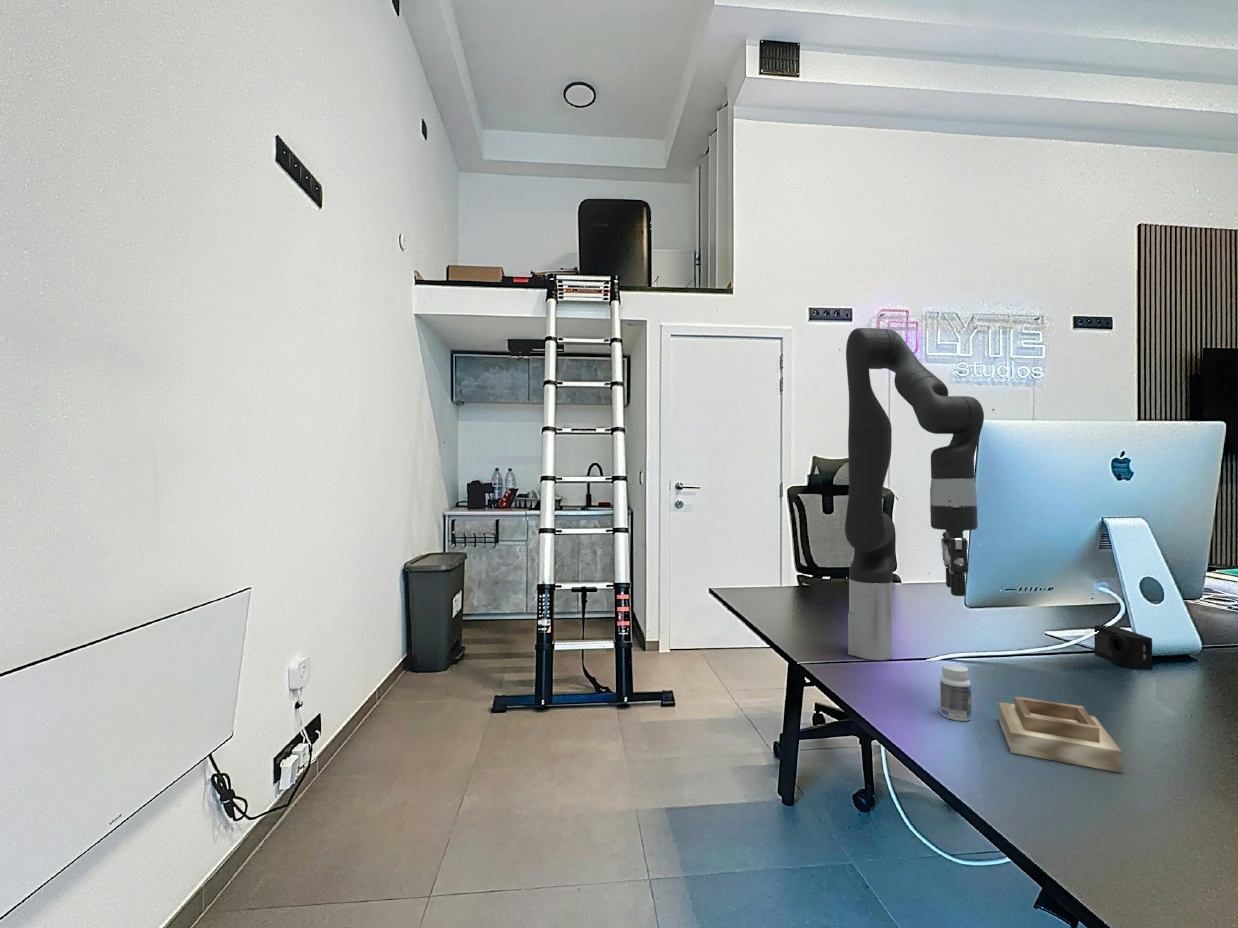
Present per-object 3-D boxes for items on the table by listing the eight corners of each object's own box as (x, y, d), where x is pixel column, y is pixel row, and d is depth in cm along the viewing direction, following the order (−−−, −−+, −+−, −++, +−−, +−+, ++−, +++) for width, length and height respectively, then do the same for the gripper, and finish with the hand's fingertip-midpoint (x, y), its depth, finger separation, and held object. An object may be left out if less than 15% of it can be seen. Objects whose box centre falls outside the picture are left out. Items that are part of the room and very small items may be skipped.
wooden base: (1011, 752, 87) (1011, 719, 87) (998, 719, 99) (998, 690, 99) (1121, 772, 81) (1121, 736, 81) (1094, 735, 93) (1094, 703, 93)
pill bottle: (976, 722, 97) (975, 672, 98) (945, 720, 98) (945, 670, 99) (965, 711, 102) (964, 663, 102) (936, 709, 103) (935, 661, 103)
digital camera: (1088, 654, 135) (1088, 624, 135) (1112, 654, 135) (1112, 624, 135) (1126, 669, 124) (1126, 637, 125) (1152, 670, 124) (1152, 637, 124)
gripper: (927, 502, 115) (929, 583, 115) (933, 504, 102) (935, 596, 102) (971, 502, 112) (973, 586, 112) (982, 505, 99) (985, 600, 99)
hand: (955, 591), depth 107 cm, fingers open, 8 cm apart
